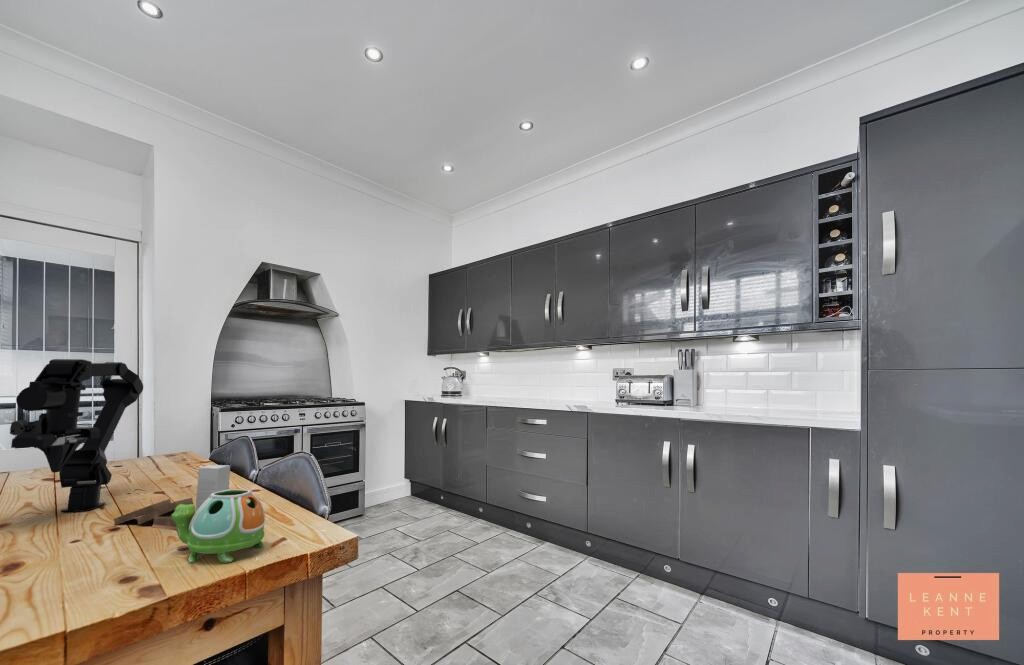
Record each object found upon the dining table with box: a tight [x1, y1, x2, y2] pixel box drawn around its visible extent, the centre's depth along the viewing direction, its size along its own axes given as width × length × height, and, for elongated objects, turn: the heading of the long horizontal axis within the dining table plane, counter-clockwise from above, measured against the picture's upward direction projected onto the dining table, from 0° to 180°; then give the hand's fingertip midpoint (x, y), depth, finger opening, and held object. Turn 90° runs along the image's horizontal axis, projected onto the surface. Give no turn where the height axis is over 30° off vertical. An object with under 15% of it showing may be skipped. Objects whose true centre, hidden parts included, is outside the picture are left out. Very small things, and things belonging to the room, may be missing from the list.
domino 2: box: [136, 497, 194, 525], centre depth 106 cm, size 2×5×10 cm
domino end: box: [151, 524, 177, 531], centre depth 104 cm, size 2×5×10 cm
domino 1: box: [113, 498, 172, 526], centre depth 107 cm, size 2×5×10 cm
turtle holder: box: [172, 488, 266, 564], centre depth 89 cm, size 12×18×12 cm
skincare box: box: [195, 464, 231, 512], centre depth 115 cm, size 6×4×12 cm
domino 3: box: [152, 512, 177, 527], centre depth 104 cm, size 2×5×10 cm
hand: (55, 472), depth 108 cm, fingers closed
